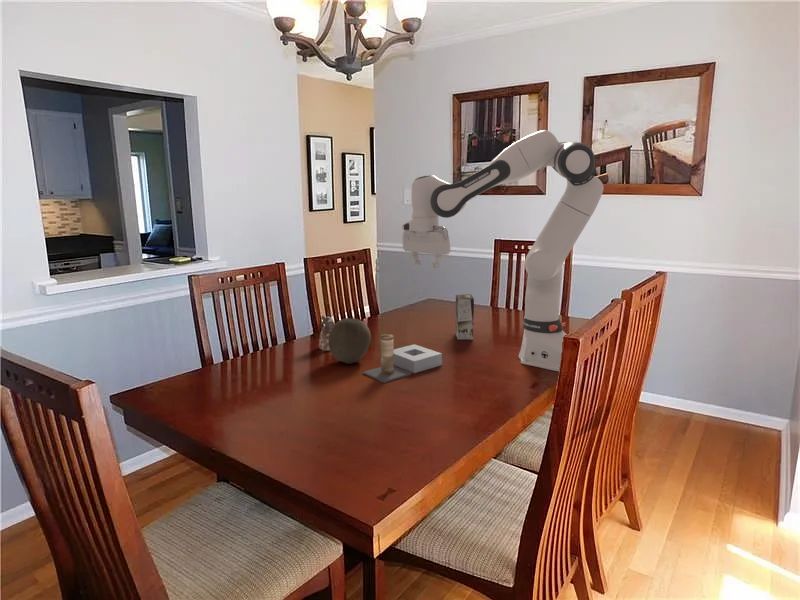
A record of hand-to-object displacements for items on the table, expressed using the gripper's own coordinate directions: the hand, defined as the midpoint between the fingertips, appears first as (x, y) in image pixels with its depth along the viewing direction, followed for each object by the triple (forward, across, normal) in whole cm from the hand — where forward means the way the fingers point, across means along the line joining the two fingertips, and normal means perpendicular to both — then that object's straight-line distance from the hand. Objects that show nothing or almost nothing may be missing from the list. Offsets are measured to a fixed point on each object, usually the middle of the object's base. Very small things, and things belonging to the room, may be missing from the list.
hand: (426, 266), depth 182 cm
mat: (+31, -5, +23) cm, 39 cm away
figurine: (+31, +32, +21) cm, 49 cm away
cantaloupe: (+31, +13, +24) cm, 42 cm away
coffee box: (+32, +8, -27) cm, 42 cm away
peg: (+31, -5, +23) cm, 39 cm away
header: (+32, -3, +10) cm, 33 cm away
